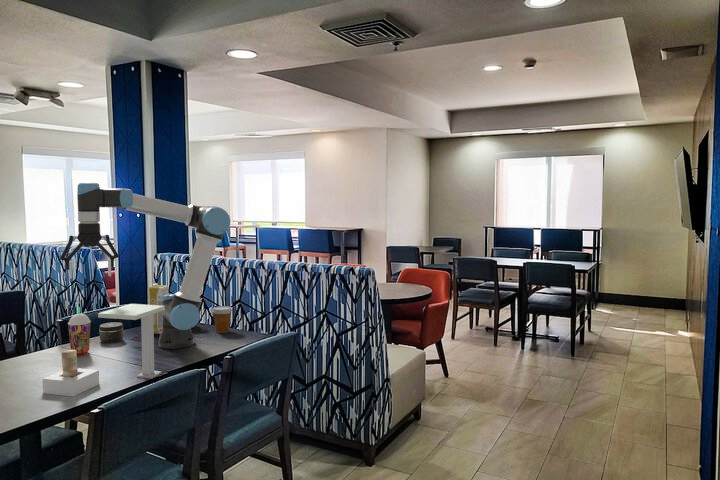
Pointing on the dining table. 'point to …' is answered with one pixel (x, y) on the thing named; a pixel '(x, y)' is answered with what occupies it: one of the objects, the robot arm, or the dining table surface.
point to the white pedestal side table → (146, 331)
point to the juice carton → (156, 299)
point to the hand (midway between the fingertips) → (90, 277)
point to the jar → (111, 332)
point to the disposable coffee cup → (222, 318)
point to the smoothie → (79, 333)
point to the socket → (70, 382)
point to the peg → (69, 363)
